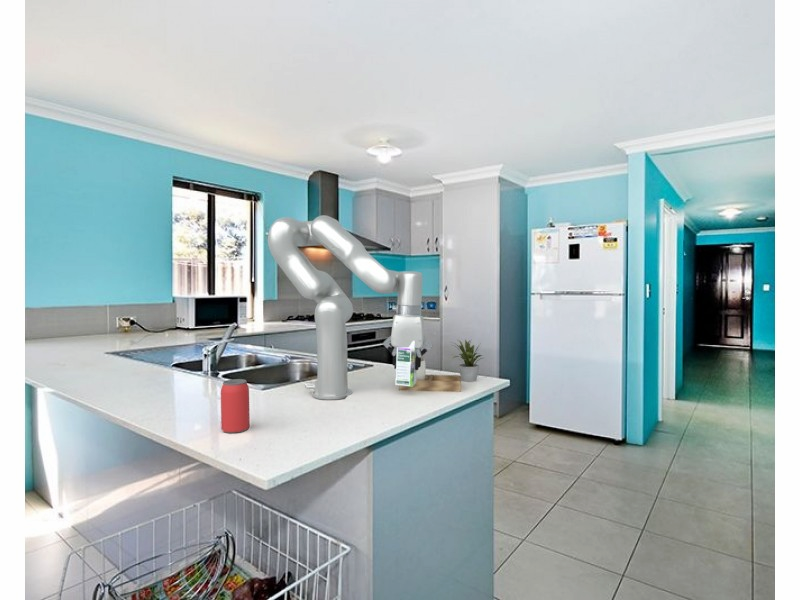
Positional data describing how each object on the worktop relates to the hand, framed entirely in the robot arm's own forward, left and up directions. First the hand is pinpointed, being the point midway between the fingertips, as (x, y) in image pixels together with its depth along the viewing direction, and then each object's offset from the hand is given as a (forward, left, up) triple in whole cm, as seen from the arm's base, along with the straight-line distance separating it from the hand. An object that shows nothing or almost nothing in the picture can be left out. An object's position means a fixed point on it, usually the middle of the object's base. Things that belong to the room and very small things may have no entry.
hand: (406, 368), depth 147 cm
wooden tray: (+7, +12, -9) cm, 16 cm away
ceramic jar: (+2, +12, -8) cm, 14 cm away
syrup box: (0, 0, -5) cm, 5 cm away
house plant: (+18, +25, -9) cm, 32 cm away
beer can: (-38, -37, -9) cm, 54 cm away
